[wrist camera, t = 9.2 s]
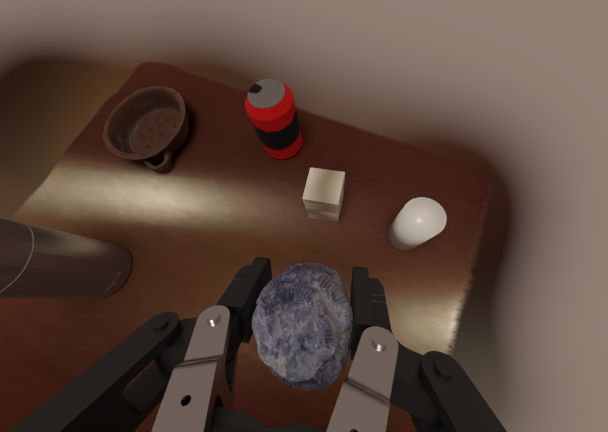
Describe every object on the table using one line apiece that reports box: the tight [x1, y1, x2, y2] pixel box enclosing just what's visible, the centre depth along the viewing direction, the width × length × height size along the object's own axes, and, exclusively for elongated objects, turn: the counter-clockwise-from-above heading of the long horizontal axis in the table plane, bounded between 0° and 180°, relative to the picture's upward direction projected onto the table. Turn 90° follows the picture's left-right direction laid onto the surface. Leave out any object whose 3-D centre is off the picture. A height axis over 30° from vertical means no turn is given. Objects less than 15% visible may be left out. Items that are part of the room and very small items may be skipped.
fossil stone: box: [252, 262, 353, 391], centre depth 12 cm, size 5×5×10 cm
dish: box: [103, 86, 189, 172], centre depth 48 cm, size 17×22×5 cm
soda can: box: [245, 79, 303, 159], centre depth 39 cm, size 8×8×12 cm
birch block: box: [302, 167, 345, 223], centre depth 36 cm, size 5×5×8 cm
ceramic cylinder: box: [387, 197, 447, 251], centre depth 32 cm, size 5×5×9 cm
